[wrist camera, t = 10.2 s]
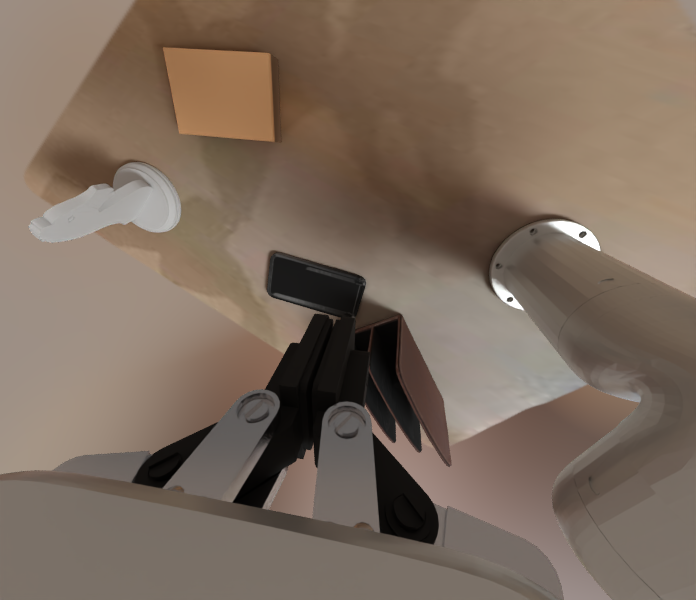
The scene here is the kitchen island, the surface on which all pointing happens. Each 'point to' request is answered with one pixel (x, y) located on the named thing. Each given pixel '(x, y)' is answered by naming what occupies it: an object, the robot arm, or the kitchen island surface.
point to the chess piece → (114, 206)
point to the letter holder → (402, 386)
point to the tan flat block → (225, 93)
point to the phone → (315, 285)
